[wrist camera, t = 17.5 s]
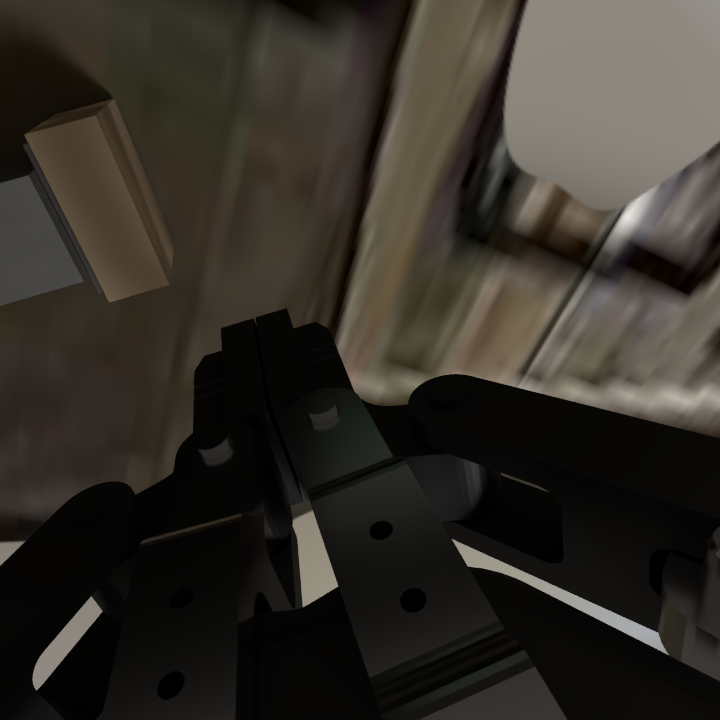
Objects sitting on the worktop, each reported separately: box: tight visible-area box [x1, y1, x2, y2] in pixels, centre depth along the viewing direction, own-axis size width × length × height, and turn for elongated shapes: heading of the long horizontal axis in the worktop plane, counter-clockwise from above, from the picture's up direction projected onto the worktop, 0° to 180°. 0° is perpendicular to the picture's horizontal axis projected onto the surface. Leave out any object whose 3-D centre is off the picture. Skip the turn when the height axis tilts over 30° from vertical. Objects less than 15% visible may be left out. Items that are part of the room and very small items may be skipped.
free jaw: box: [23, 99, 174, 302], centre depth 29 cm, size 3×8×6 cm, turn 13°
